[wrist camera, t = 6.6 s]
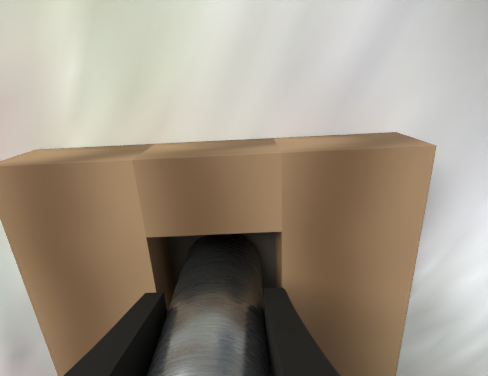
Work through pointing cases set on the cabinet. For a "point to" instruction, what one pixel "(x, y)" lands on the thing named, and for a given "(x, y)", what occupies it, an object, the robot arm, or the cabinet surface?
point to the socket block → (224, 232)
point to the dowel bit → (215, 314)
